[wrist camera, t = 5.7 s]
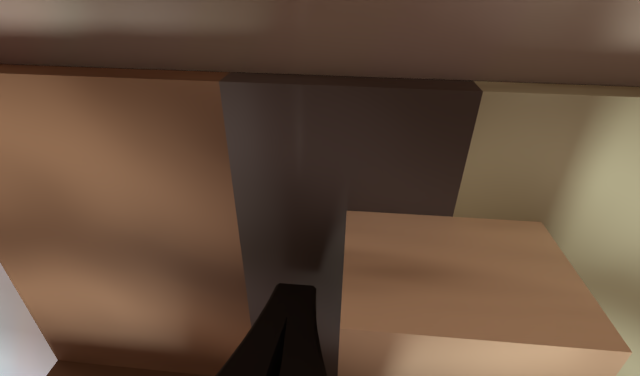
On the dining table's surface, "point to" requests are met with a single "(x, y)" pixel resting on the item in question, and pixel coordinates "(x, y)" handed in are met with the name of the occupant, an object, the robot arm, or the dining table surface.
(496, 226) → the maple block
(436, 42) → the dining table surface
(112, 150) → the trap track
